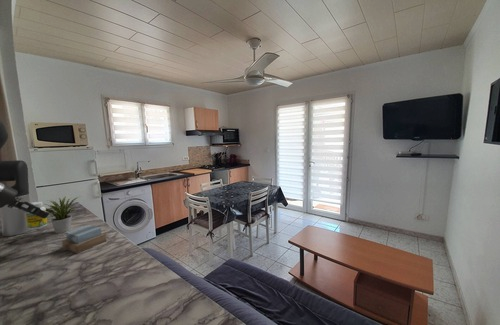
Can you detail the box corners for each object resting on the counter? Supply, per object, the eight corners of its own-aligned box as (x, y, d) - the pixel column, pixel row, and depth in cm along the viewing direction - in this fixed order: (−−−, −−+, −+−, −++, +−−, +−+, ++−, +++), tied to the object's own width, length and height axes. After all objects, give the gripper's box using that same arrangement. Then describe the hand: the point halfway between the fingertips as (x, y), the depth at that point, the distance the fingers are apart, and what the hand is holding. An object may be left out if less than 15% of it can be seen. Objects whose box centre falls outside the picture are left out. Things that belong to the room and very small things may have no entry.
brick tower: (62, 247, 77) (61, 233, 77) (91, 236, 86) (90, 223, 86) (77, 253, 73) (76, 237, 73) (106, 240, 83) (104, 227, 82)
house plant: (76, 221, 103) (73, 191, 102) (91, 226, 97) (88, 193, 96) (38, 232, 91) (34, 197, 89) (52, 238, 85) (48, 201, 83)
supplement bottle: (49, 223, 81) (47, 200, 80) (45, 227, 76) (42, 203, 75) (30, 225, 78) (27, 202, 77) (25, 231, 73) (22, 206, 72)
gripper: (11, 185, 65) (60, 209, 78) (-7, 181, 71) (42, 204, 83) (-12, 205, 61) (44, 227, 73) (-29, 199, 67) (25, 220, 79)
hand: (42, 214), depth 78 cm, fingers closed on supplement bottle, 5 cm apart
